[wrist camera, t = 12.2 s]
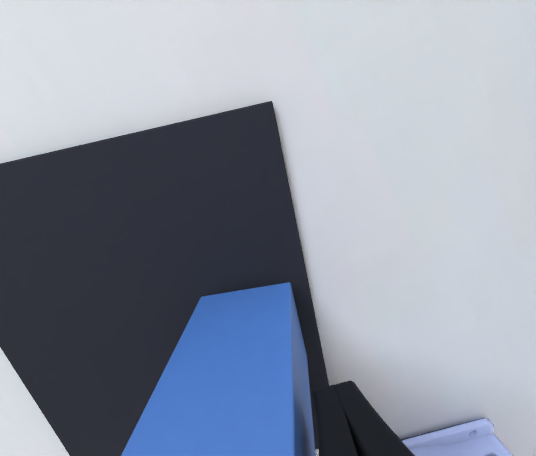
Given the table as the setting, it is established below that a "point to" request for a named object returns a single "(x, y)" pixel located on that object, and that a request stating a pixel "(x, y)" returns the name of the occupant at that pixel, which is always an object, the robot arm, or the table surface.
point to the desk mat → (139, 262)
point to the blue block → (233, 382)
